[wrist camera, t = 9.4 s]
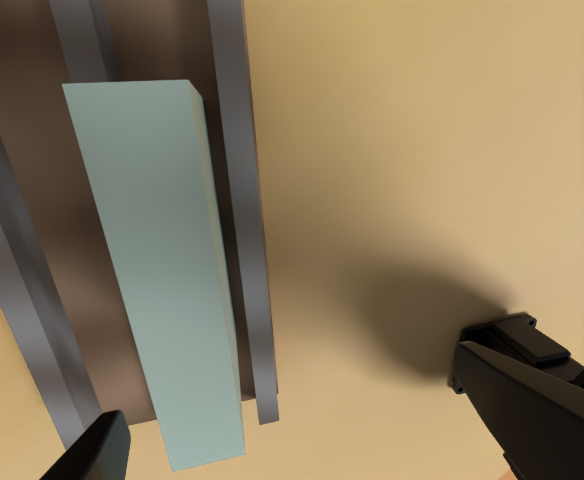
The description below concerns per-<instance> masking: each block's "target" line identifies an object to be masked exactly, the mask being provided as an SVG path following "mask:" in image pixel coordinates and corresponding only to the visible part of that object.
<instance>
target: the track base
mask: <svg viewBox="0 0 584 480" xmlns="http://www.w3.org/2000/svg"><path fill="white" fill-rule="evenodd" d="M160 80H189V81H190V83H191V84H192V85H193V86H194V88H195V89H196V90H197V91H198V93H199V94H200V95H201V96H202V98H203V99H204V105H205V112H206V120H207V127H208V134H209V141H210V148H211V155H212V162H213V169H214V177H215V184H216V191H217V198H218V205H219V212H220V219H221V227H222V234H223V241H224V248H225V255H226V262H227V269H228V277H229V284H230V291H231V298H232V305H233V312H234V319H235V329H236V342H237V354H238V367H239V379H240V392H241V401H246V400H251V399H255V398H256V402H257V409H258V417H259V424H260V425H262V424H266V423H271V422H275V421H279V413H278V402H277V394H278V383H277V372H276V361H275V349H274V338H273V327H272V316H271V305H270V293H269V282H268V271H267V260H266V249H265V237H264V226H263V215H262V204H261V192H260V181H259V170H258V159H257V148H256V136H255V125H254V114H253V103H252V92H251V80H250V69H249V58H248V47H247V35H246V24H245V13H244V2H243V0H0V306H1V308H2V311H3V313H4V315H5V317H6V319H7V322H8V324H9V326H10V328H11V330H12V333H13V335H14V337H15V339H16V341H17V344H18V346H19V348H20V350H21V352H22V355H23V357H24V359H25V361H26V363H27V366H28V368H29V370H30V372H31V374H32V377H33V379H34V381H35V383H36V386H37V388H38V390H39V392H40V394H41V397H42V399H43V401H44V403H45V405H46V408H47V410H48V412H49V414H50V416H51V419H52V421H53V423H54V425H55V427H56V430H57V432H58V434H59V436H60V438H61V441H62V443H63V445H64V447H65V449H66V451H67V449H68V448H69V447H70V446H71V445H72V444H73V443H74V442H75V441H76V440H77V439H78V438H79V437H80V436H81V435H82V434H83V432H84V431H85V430H86V429H87V428H88V427H89V426H90V425H91V424H92V423H93V422H94V421H95V420H96V419H97V418H98V417H99V416H100V415H101V414H102V413H104V412H108V411H113V410H118V409H119V410H122V411H123V413H124V416H125V419H126V422H127V425H133V424H138V423H143V422H147V421H152V420H157V416H156V413H155V409H154V406H153V402H152V399H151V395H150V392H149V388H148V385H147V381H146V378H145V374H144V371H143V367H142V364H141V360H140V357H139V353H138V350H137V346H136V343H135V339H134V336H133V332H132V329H131V325H130V322H129V318H128V315H127V311H126V308H125V304H124V301H123V297H122V294H121V290H120V287H119V283H118V280H117V276H116V273H115V269H114V266H113V262H112V259H111V255H110V252H109V248H108V245H107V241H106V238H105V234H104V231H103V227H102V224H101V220H100V217H99V213H98V210H97V206H96V203H95V199H94V196H93V192H92V189H91V185H90V182H89V178H88V175H87V171H86V168H85V164H84V161H83V157H82V154H81V150H80V147H79V143H78V140H77V136H76V133H75V129H74V125H73V122H72V118H71V115H70V111H69V108H68V104H67V101H66V97H65V94H64V90H63V87H62V84H71V83H101V82H130V81H160Z"/></svg>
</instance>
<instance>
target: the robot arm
mask: <svg viewBox="0 0 584 480" xmlns="http://www.w3.org/2000/svg"><path fill="white" fill-rule="evenodd" d="M536 322H537V320H536V319H535V318H534V317H532V316H530V315H527V316H522V317H517V318H512V319H507V320H502V321H497V322H491V323H486V324H481V325H476V326H471V327H467V328H465V329H464V330H463V331H462V334H461V340H460V343H457V344H456V346H455V349H454V356H453V362H452V369H453V372H454V380H453V385H452V389H453V390H454V392H455V393H456V394H463V393H466V395H467V396H468V398H469V399H470V401H471V403H472V404H473V406H474V408H475V409H476V411H477V413H478V414H479V416H480V417H481V419H482V421H483V422H484V424H485V425H486V427H487V428H488V430H489V431H490V432H491V434H492V435H493V437H494V438H495V439H496V441H497V442H498V443H499V445H500V446H501V448H502V449H503V450H504V453H503V456H504V458H505V459H506V461H507V462H508V464H509V465H510V468H511V470H512V472H513V473H514V475H515V476H516V478H517V479H518V480H584V366H583V365H581V364H580V363H578V362H577V361H575V360H574V359H572V358H571V357H570V356H571V353H570V352H569V351H568V350H567V349H566V348H564V347H563V346H561V345H560V344H558V343H557V342H555V341H554V340H552V339H551V338H549V337H548V336H546V335H545V334H543V333H541V332H540V331H538V330H537V329H535V326H536ZM130 442H131V436H130V431H129V428H128V425H127V422H126V419H125V416H124V413H123V411H122V410H119V409H118V410H113V411H108V412H104V413H102V414H101V415H100V416H99V417H98V418H97V419H96V420H95V421H94V422H93V423H92V424H91V425H90V426H89V427H88V428H87V429H86V430H85V431H84V432H83V434H82V435H81V436H80V437H79V438H78V439H77V440H76V441H75V442H74V443H73V444H72V445H71V446H70V447H69V448H68V449H67V451H66V452H65V453H64V454H63V455H62V456H61V457H60V458H59V459H58V460H57V461H56V462H55V463H54V464H53V465H52V466H51V467H50V469H49V470H48V471H47V472H46V473H45V474H44V475H43V476H42V477H41V478H40V479H39V480H125V475H126V469H127V462H128V456H129V449H130Z"/></svg>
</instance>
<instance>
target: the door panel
mask: <svg viewBox="0 0 584 480" xmlns="http://www.w3.org/2000/svg"><path fill="white" fill-rule="evenodd" d="M62 87H63V90H64V94H65V97H66V101H67V104H68V108H69V111H70V115H71V118H72V122H73V125H74V129H75V133H76V136H77V140H78V143H79V147H80V150H81V154H82V157H83V161H84V164H85V168H86V171H87V175H88V178H89V182H90V185H91V189H92V192H93V196H94V199H95V203H96V206H97V210H98V213H99V217H100V220H101V224H102V227H103V231H104V234H105V238H106V241H107V245H108V248H109V252H110V255H111V259H112V262H113V266H114V269H115V273H116V276H117V280H118V283H119V287H120V290H121V294H122V297H123V301H124V304H125V308H126V311H127V315H128V318H129V322H130V325H131V329H132V332H133V336H134V339H135V343H136V346H137V350H138V353H139V357H140V360H141V364H142V367H143V371H144V374H145V378H146V381H147V385H148V388H149V392H150V395H151V399H152V402H153V406H154V409H155V413H156V416H157V420H158V424H159V427H160V431H161V434H162V438H163V441H164V445H165V448H166V452H167V455H168V459H169V462H170V466H171V469H172V472H175V471H179V470H183V469H187V468H191V467H195V466H199V465H204V464H208V463H212V462H216V461H220V460H224V459H228V458H233V457H237V456H241V455H245V442H244V429H243V417H242V404H241V392H240V379H239V367H238V354H237V342H236V329H235V319H234V312H233V305H232V298H231V291H230V284H229V277H228V269H227V262H226V255H225V248H224V241H223V234H222V227H221V219H220V212H219V205H218V198H217V191H216V184H215V177H214V169H213V162H212V155H211V148H210V141H209V134H208V127H207V120H206V112H205V105H204V99H203V98H202V96H201V95H200V94H199V93H198V91H197V90H196V89H195V88H194V86H193V85H192V84H191V83H190V81H189V80H160V81H130V82H101V83H71V84H62Z"/></svg>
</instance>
